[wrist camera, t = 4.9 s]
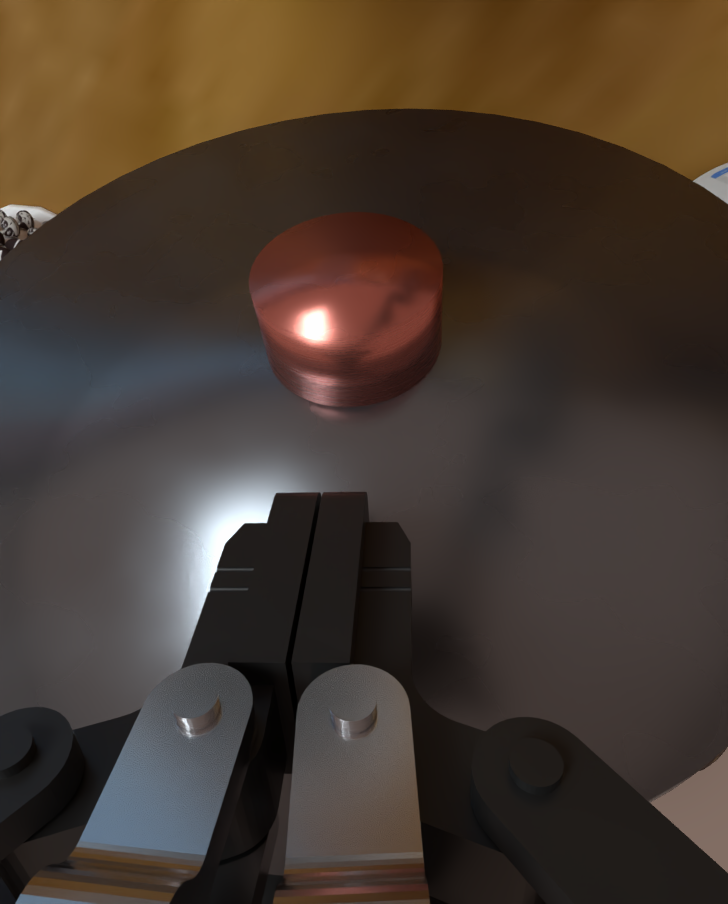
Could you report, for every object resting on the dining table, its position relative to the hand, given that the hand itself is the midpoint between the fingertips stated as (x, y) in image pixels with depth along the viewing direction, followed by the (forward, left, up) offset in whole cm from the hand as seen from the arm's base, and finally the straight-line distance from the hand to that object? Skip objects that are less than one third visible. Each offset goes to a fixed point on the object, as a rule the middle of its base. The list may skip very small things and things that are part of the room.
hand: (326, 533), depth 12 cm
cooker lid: (0, 0, -5) cm, 5 cm away
